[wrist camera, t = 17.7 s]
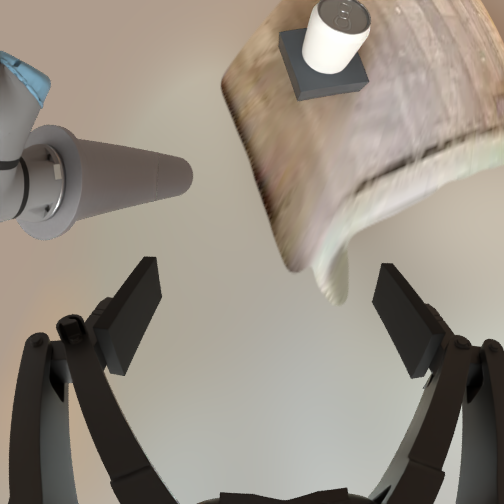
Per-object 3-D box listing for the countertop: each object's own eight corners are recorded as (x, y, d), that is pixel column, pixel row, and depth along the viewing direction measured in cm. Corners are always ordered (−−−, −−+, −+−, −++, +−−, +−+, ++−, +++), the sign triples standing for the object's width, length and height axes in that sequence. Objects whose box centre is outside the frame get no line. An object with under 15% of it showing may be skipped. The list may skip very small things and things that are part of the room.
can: (297, 67, 32) (307, 26, 21) (306, 31, 31) (318, -16, 19) (343, 81, 32) (371, 46, 21) (351, 44, 31) (377, 3, 19)
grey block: (297, 101, 38) (300, 92, 33) (278, 46, 36) (279, 32, 31) (359, 91, 37) (369, 81, 32) (338, 37, 35) (345, 23, 30)
